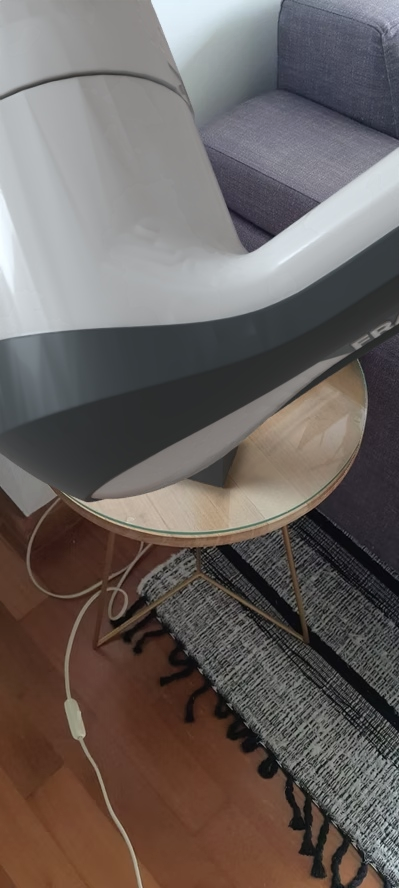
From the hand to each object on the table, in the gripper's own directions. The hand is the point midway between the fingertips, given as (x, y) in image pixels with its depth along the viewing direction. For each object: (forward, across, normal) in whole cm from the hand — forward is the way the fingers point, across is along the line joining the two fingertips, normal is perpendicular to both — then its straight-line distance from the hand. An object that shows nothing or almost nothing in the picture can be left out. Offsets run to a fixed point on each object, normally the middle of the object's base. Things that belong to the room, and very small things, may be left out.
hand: (120, 317), depth 47 cm
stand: (+31, 0, +13) cm, 34 cm away
